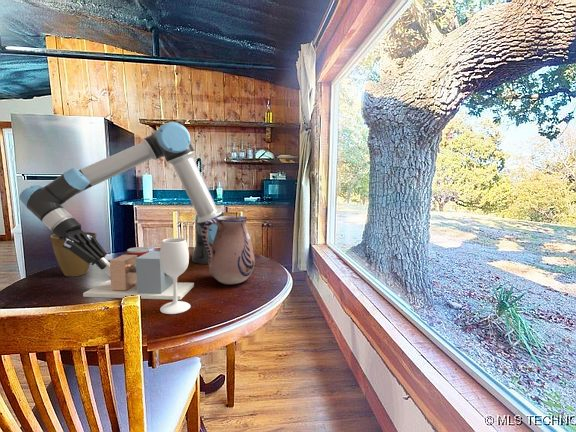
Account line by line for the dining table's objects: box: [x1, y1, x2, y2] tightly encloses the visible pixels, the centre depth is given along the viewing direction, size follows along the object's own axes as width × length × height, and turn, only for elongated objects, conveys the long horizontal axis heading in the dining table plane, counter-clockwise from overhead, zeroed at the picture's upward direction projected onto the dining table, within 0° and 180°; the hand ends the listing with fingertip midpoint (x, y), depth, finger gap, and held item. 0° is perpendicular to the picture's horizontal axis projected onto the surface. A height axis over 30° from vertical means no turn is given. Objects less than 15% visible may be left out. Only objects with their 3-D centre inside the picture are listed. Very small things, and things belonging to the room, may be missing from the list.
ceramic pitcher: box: [202, 215, 256, 285], centre depth 114 cm, size 18×21×25 cm
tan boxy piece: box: [109, 254, 138, 290], centre depth 103 cm, size 20×8×10 cm, turn 89°
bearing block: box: [82, 250, 195, 301], centre depth 103 cm, size 32×13×13 cm, turn 89°
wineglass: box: [159, 237, 191, 315], centre depth 89 cm, size 9×9×21 cm
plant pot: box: [50, 231, 98, 277], centre depth 120 cm, size 15×15×16 cm
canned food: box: [126, 246, 150, 257], centre depth 119 cm, size 8×8×11 cm
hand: (113, 273), depth 103 cm, fingers closed
